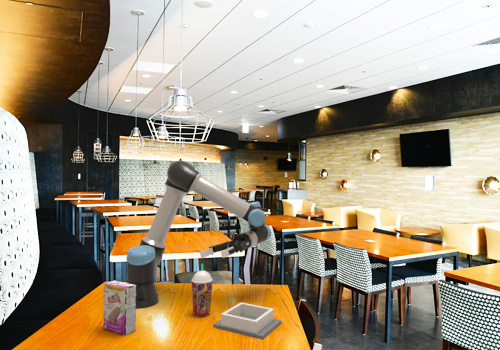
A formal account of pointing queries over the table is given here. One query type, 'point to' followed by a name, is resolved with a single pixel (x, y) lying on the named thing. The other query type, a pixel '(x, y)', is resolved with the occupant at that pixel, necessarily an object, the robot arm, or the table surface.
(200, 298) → the smoothie
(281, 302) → the table surface
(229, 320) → the board
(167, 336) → the table surface
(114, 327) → the candy bar box
